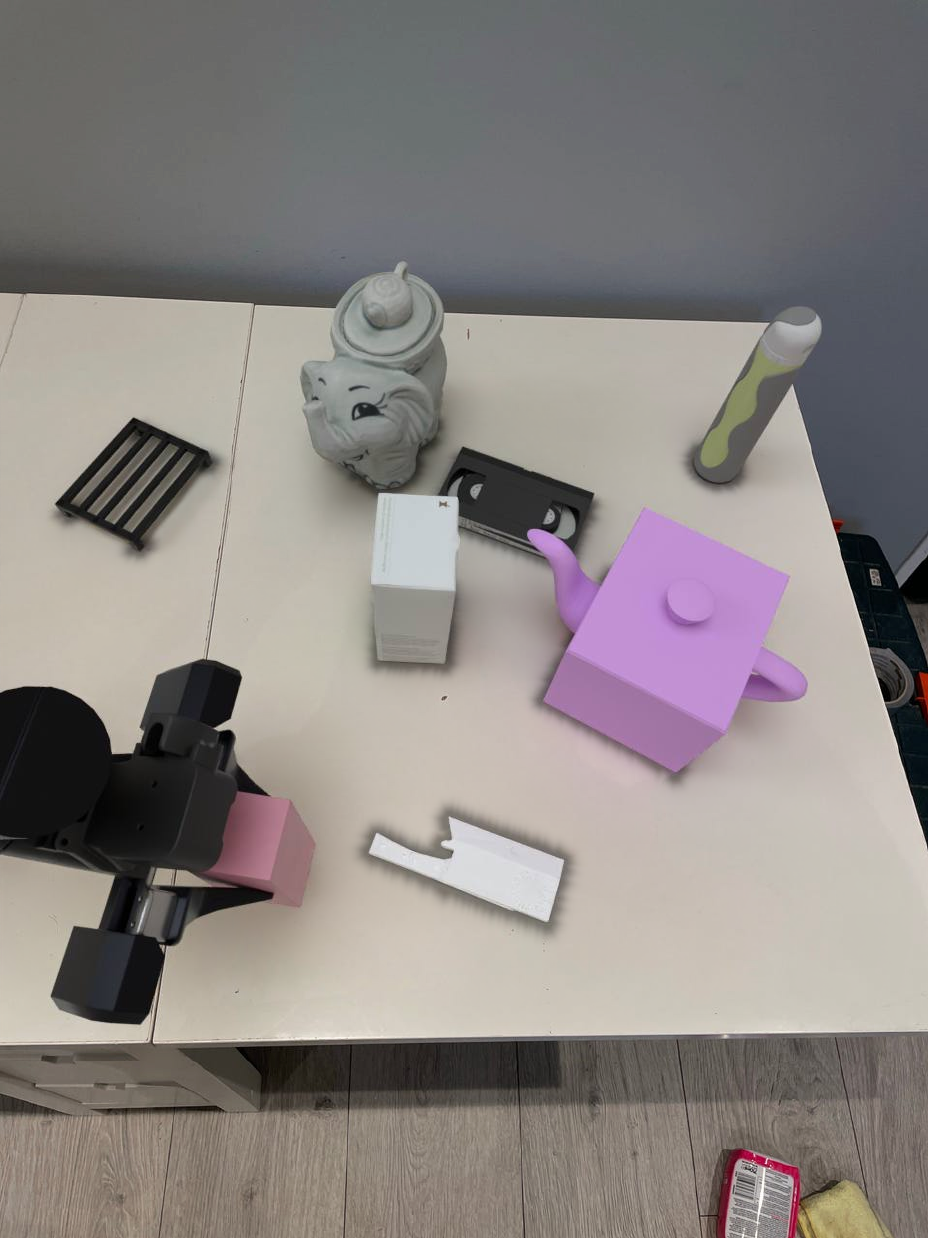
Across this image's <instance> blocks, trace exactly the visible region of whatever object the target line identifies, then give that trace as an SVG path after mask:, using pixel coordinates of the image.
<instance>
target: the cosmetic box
mask: <svg viewBox="0 0 928 1238" xmlns="http://www.w3.org/2000/svg"><path fill="white" fill-rule="evenodd" d="M376 503H377V504H376V514H375V523H374V535H373V544H372V556H371V567H370V585H371V598H372V599H371V600H372V609H373V610H372V611H373V623H374V633H375V646H376V656H377V657H376V658H377V661H379V662H380V661H381V662H396V663H397V662H398V663H419V664H421V663H423V664H438V665H439V664H441V665H445V664H446V659H447V651H448V645H449V638H450V633H451V632H450V631H451V625H452V618H453V611H454V607H455V606H454V605H455V599H456V594H457V582H458V581H457V580H458V550H459V548H460V544H461V539H460V535H459V526H458V515H459V501H458V497H449V496H438V495H424V494H406V493H389V492H379V493H378V495H377V501H376Z"/></svg>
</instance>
